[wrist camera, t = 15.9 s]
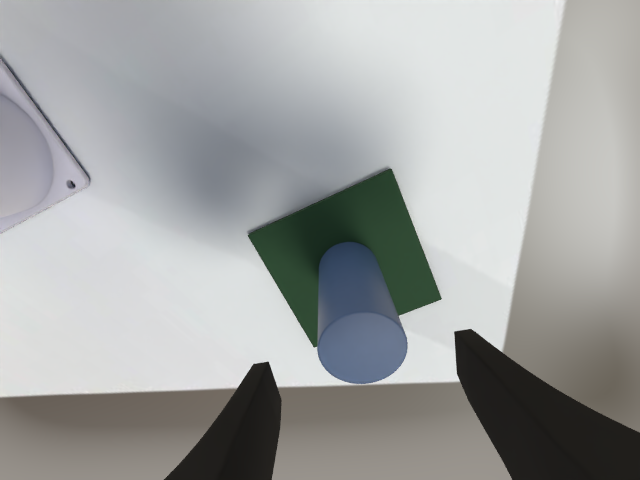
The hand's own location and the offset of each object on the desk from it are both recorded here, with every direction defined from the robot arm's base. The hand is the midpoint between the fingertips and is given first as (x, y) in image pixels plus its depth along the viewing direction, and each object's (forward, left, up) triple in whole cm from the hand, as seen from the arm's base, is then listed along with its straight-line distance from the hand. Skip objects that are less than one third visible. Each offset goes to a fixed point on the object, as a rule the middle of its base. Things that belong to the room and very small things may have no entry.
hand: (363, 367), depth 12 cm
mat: (0, -1, -10) cm, 10 cm away
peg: (0, -1, -10) cm, 10 cm away
